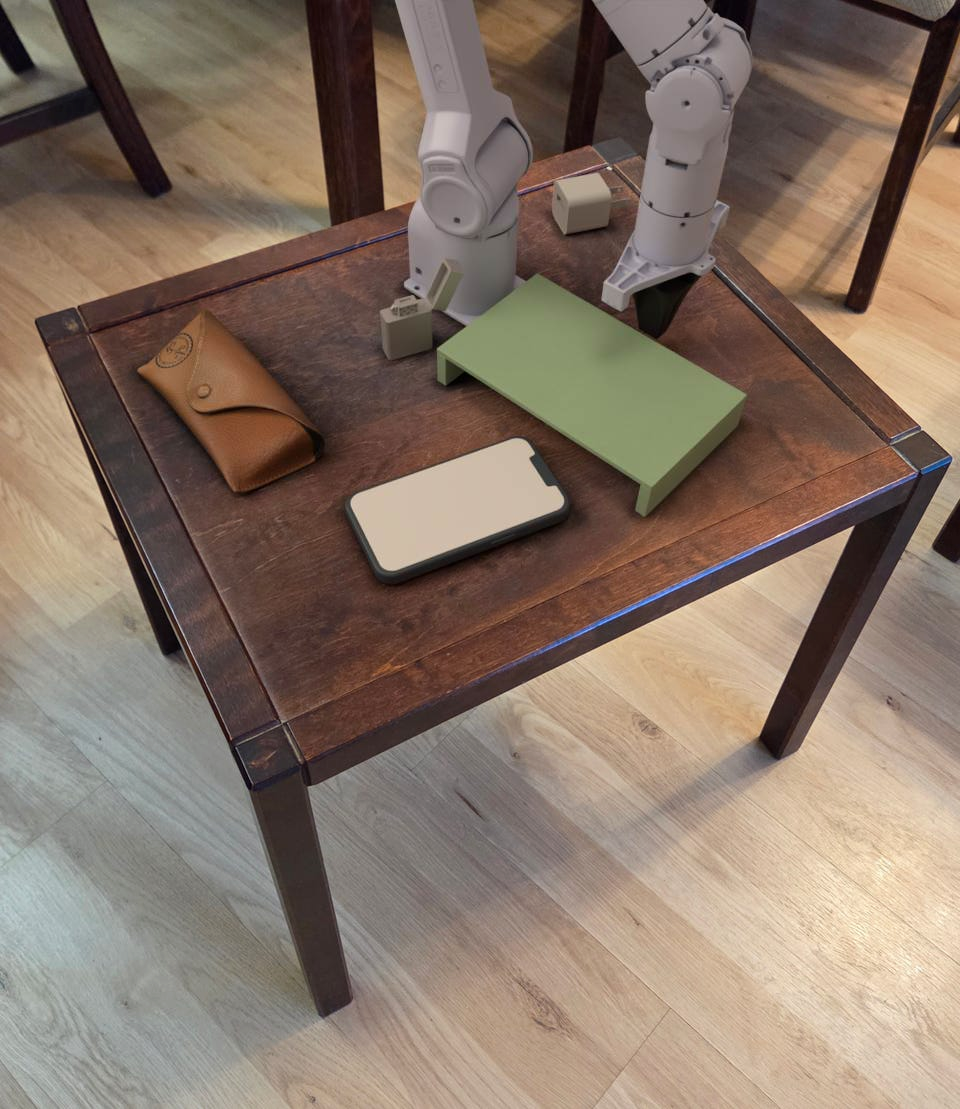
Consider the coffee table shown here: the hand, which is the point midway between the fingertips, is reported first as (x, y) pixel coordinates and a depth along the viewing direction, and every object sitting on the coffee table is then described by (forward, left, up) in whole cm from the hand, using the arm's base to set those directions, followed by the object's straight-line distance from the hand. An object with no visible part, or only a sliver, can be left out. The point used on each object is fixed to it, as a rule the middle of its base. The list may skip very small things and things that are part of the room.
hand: (652, 330), depth 91 cm
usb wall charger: (-15, +11, -2) cm, 19 cm away
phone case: (0, -25, -2) cm, 25 cm away
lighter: (-15, -13, -2) cm, 20 cm away
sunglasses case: (-21, -30, -2) cm, 37 cm away
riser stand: (0, -9, -2) cm, 9 cm away
